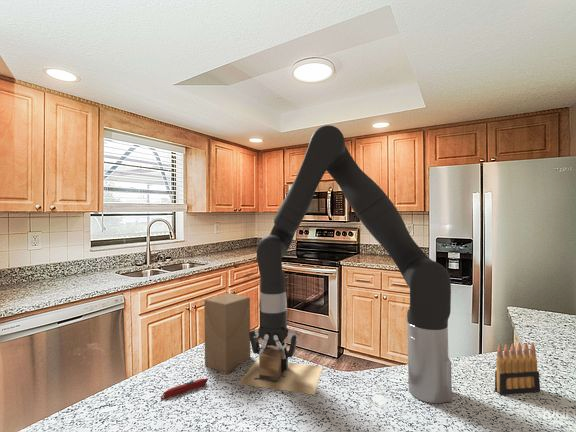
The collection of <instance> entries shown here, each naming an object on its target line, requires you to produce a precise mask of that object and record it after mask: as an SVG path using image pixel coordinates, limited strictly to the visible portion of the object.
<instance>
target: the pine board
mask: <svg viewBox="0 0 576 432" xmlns="http://www.w3.org/2000/svg"><path fill="white" fill-rule="evenodd" d="M323 369H324V366H323V367H322V366H321V365H311V364H305V363H303V364H302V363H296V362H289V361H288V367H287V369H286V370H285V372H284V373H282V374H281V376H280V378H279V380H278V381H273V380H266V379H260V372H259V358H257V359H256V361H255V362H254V363H253V364H252V366H251V367H250V368H249V369H248V371H247V372H246V373H245V374H244V376H242V378H241V379H240V380H239V381H238V384H239V385H246V386H252V387H259V388H267V389H272V390H279V391H280V390H281V391H289V392H293V393H300V394H301V393H302V394H310V395H315V394H316V391H317V388H318V385H319V382H320V378H321V376H322V375H321V374H322V372H323Z"/></svg>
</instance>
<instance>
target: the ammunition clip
mask: <svg viewBox="0 0 576 432" xmlns="http://www.w3.org/2000/svg"><path fill="white" fill-rule="evenodd" d="M536 351H537V349H536V346H535V344H534V342H531V343H530V345H528V343H527V342H525V343H524V344H523V348H522V345H521V342H518V343H517V346H515V344H514V343H511V345H510V347H509V345H508V343H506V344H504V349H503V347H502V344H501V343H499V344H498V345H497V352H496V353H497V354H496V364H495V365H496V366H495V368H496V370H495V371H494V391H495V392H497V393H498V394H499V395H501V396H503V395H506V396H507V395H519V394H520V395H521V394H531V393H532V394H533V393H541V383H540V371H538V359H537V353H536Z"/></svg>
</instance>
